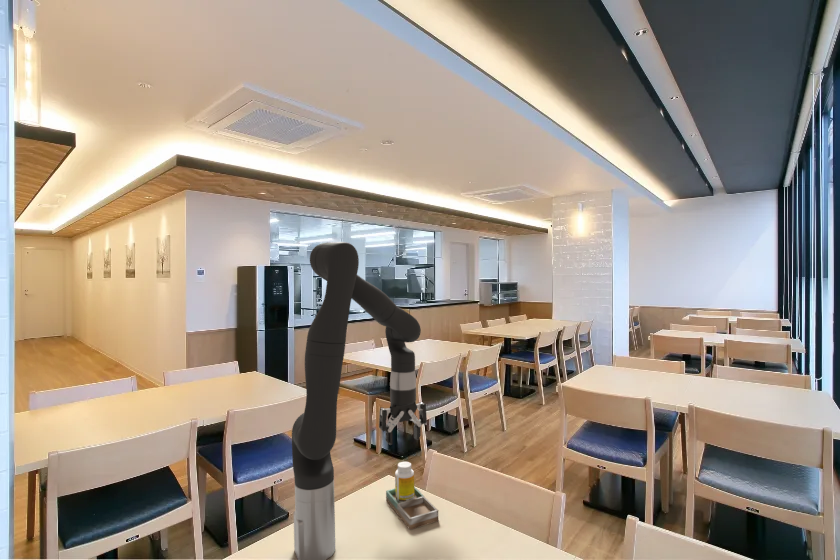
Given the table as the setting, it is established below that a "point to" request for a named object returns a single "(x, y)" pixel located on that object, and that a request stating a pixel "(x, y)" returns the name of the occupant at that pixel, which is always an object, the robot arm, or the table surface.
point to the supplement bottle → (404, 482)
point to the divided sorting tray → (413, 509)
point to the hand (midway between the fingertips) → (403, 441)
